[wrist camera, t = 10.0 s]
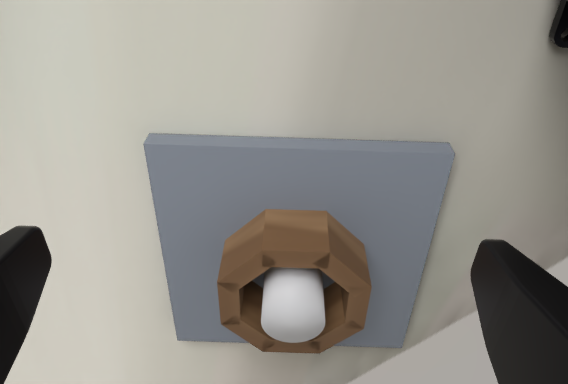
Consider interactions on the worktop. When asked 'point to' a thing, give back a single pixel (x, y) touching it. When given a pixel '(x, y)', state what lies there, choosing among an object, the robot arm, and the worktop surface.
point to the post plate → (295, 196)
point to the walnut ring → (294, 254)
